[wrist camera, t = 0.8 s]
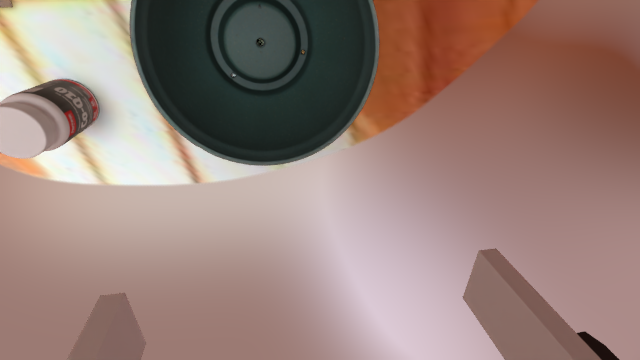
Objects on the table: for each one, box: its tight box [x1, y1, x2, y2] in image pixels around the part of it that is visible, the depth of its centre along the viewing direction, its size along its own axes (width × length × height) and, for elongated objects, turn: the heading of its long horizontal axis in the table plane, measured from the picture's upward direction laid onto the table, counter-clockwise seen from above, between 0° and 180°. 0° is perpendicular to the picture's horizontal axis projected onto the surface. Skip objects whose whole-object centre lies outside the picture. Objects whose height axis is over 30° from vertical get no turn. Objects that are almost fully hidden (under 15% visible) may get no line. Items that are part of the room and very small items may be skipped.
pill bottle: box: [0, 79, 99, 158], centre depth 27 cm, size 5×5×8 cm
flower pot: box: [130, 0, 379, 166], centre depth 26 cm, size 16×16×11 cm
